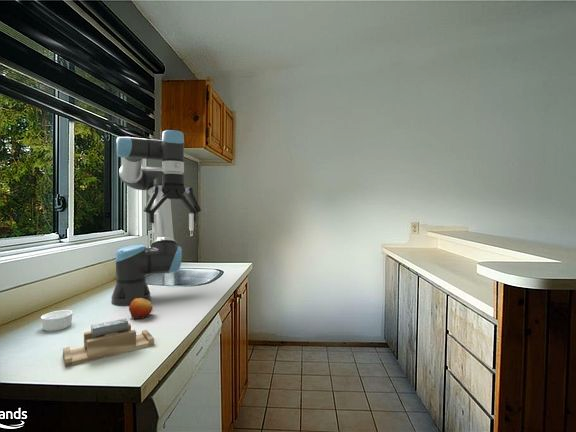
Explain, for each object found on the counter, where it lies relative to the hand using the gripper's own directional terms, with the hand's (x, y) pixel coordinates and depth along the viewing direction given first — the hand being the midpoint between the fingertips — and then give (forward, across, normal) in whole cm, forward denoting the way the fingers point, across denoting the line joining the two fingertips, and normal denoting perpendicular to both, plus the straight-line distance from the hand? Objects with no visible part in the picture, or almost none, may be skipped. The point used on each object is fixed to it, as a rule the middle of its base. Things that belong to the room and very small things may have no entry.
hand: (173, 231), depth 121 cm
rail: (+32, -24, -17) cm, 43 cm away
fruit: (+32, -10, +6) cm, 34 cm away
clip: (+30, -24, -17) cm, 42 cm away
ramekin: (+32, -35, +13) cm, 49 cm away
